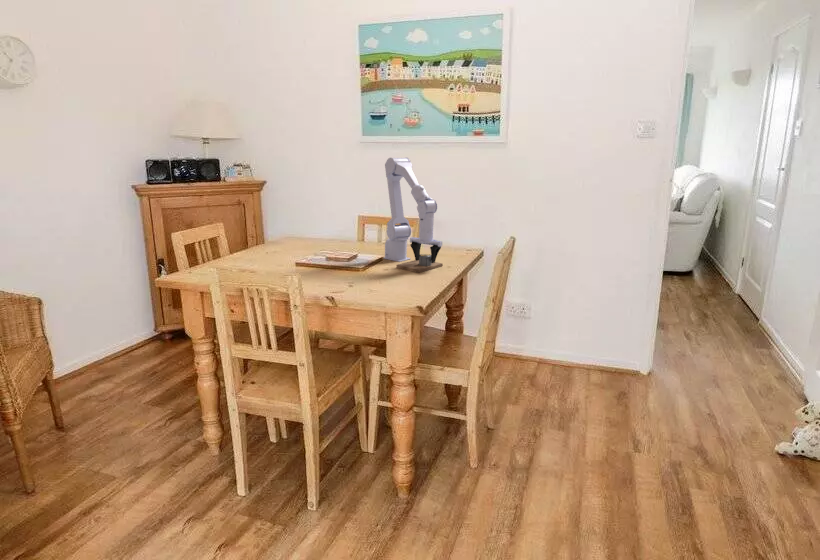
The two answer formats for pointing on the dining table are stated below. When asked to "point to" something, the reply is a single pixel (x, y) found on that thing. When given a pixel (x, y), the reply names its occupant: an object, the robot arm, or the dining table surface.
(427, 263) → the grey control knob
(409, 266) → the stud board
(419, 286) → the dining table surface
